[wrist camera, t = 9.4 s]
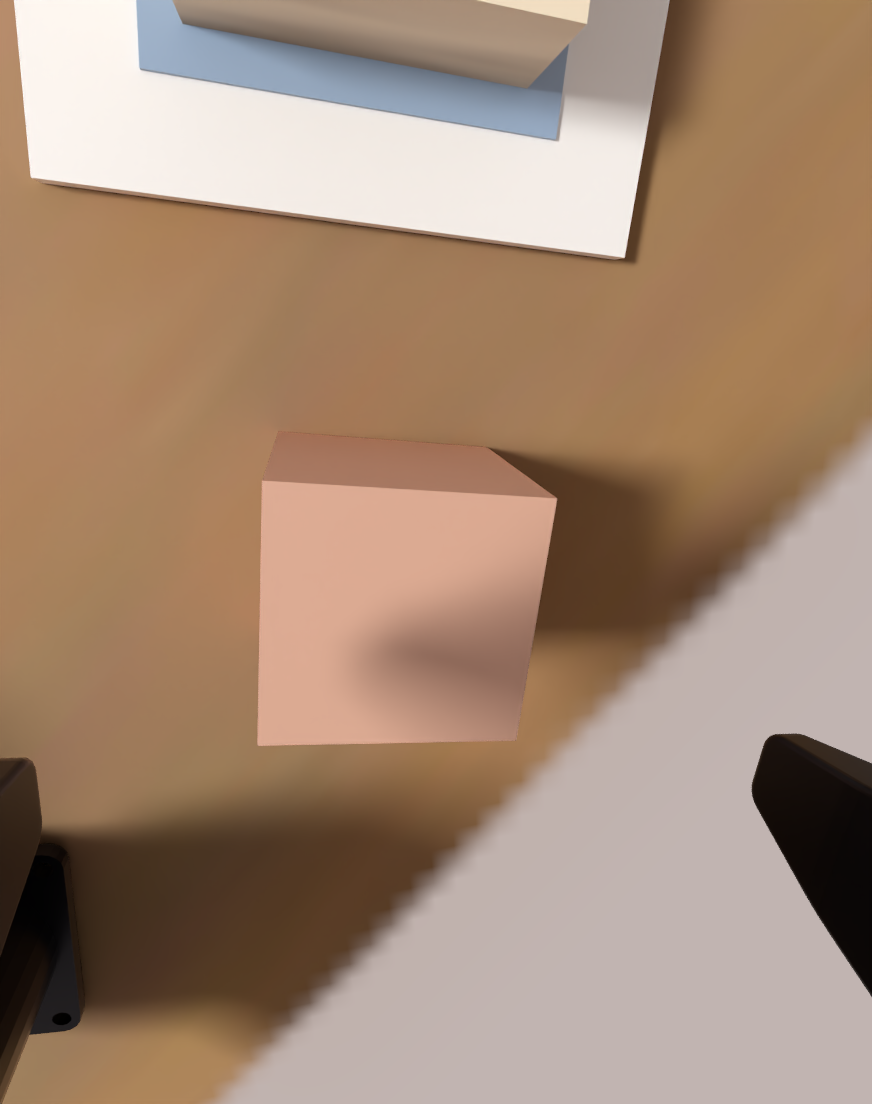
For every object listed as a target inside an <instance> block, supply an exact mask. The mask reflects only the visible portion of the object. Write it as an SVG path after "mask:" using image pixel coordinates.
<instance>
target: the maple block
mask: <svg viewBox="0 0 872 1104" xmlns="http://www.w3.org/2000/svg"><path fill="white" fill-rule="evenodd" d="M172 1H173V3H174V5H175V8H176V10H177V12H178V14H179V17H180V19H181V21H182V24H187V25H192V26H197V27H203V28H208V29H213V30H219V31H224V32H229V33H235V34H240V35H245V36H251V37H256V38H261V39H266V40H272V41H277V42H282V43H288V44H293V45H298V46H304V47H309V48H314V49H319V50H325V51H330V52H335V53H341V54H346V55H351V56H357V57H362V58H367V59H373V60H378V61H383V62H388V63H394V64H399V65H404V66H410V67H415V68H420V69H426V70H431V71H436V72H441V73H447V74H452V75H457V76H463V77H468V78H473V79H479V80H484V81H489V82H494V83H500V84H505V85H510V86H516V87H521V88H526V89H527V88H528V87H529V86H530V85H531V84H532V83H533V82H534V81H535V80H536V79H537V77H538V76H539V75H540V74H541V73H542V72H543V71H544V70H545V69H546V68H547V67H548V66H549V64H550V63H551V62H552V61H553V60H554V59H555V58H556V57H557V56H558V55H559V54H560V53H561V51H562V50H563V49H564V48H565V47H566V46H567V45H568V44H569V43H570V42H571V41H572V39H573V38H574V37H575V36H576V35H577V34H578V33H579V32H580V31H581V30H582V29H583V28H584V26H585V25H586V24H587V19H588V12H589V5H590V0H172Z"/></svg>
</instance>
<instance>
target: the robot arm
mask: <svg viewBox="0 0 872 1104" xmlns="http://www.w3.org/2000/svg"><path fill="white" fill-rule="evenodd" d="M752 796H753V800H754V803H755V805H756V806H757V809H758V810H759V812H760V814H761V816H762V818H763V819H764V821H765V823H766V825H767V826H768V828H769V830H770V832H771V834H772V835H773V837H774V839H775V841H776V843H777V844H778V846H779V848H780V850H781V852H782V853H783V855H784V857H785V859H786V860H787V862H788V864H789V866H790V868H791V870H792V871H793V873H794V875H795V877H796V879H797V880H798V882H799V884H800V886H801V887H802V889H803V891H804V893H805V895H806V896H807V898H808V900H809V901H810V903H811V905H812V907H813V908H814V910H815V911H816V913H817V915H818V916H819V918H820V920H821V921H822V923H823V924H824V926H825V927H826V929H827V931H828V932H829V934H830V935H831V937H832V938H833V939H834V941H835V943H836V944H837V946H838V947H839V949H840V950H841V952H842V953H843V954H844V956H845V957H846V959H847V961H848V962H849V964H850V965H851V967H852V968H853V969H854V971H855V972H856V974H857V975H858V977H859V978H860V980H861V981H862V983H863V984H864V986H865V987H866V989H867V990H868V992H869V993H870V995H871V996H872V763H869V762H867V761H864V760H862V759H860V758H857V757H855V756H852V755H850V754H848V753H845V752H843V751H840V750H838V749H836V748H833V747H831V746H828V745H826V744H824V743H821V742H819V741H817V740H814V739H812V738H810V737H807V736H805V735H801V734H775V735H772V736H770V737H769V738H768V739H767V740H766V741H765V743H764V746H763V749H762V752H761V756H760V759H759V762H758V765H757V769H756V772H755V775H754V779H753V782H752ZM41 830H42V816H41V807H40V799H39V791H38V783H37V775H36V769H35V766H34V764H33V762H32V761H31V760H29V759H28V758H0V1104H2V1102H3V1100H4V1097H5V1094H6V1092H7V1089H8V1087H9V1084H10V1082H11V1079H12V1077H13V1074H14V1072H15V1069H16V1067H17V1064H18V1062H19V1059H20V1057H21V1054H22V1052H23V1049H24V1047H25V1044H26V1042H27V1039H28V1037H29V1035H32V1034H41V1033H50V1032H60V1031H66V1030H70V1029H72V1028H74V1027H76V1026H77V1025H78V1023H79V1022H80V1020H81V1017H82V1014H83V1010H84V1007H85V998H84V989H83V980H82V971H81V962H80V953H79V944H78V934H77V925H76V916H75V907H74V898H73V889H72V880H71V871H70V862H69V856H68V854H67V851H65V850H64V849H63V848H62V847H60V846H58V845H55V844H39V841H40V836H41ZM41 863H48V864H49V865H51V866H45V865H43V864H41Z"/></svg>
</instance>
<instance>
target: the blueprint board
mask: <svg viewBox="0 0 872 1104" xmlns="http://www.w3.org/2000/svg"><path fill="white" fill-rule="evenodd" d="M669 1H670V0H590V5H589V12H588V19H587V24H586V25H585V26H584V28H583V29H582V30H581V31H580V32H579V33H578V34H577V35H576V36H575V37H574V38H573V39H572V41H571V42H570V43H569V44H568V45H567V46H566V47H565V48H564V49H563V50H562V51H561V53H560V54H559V55H558V56H557V57H556V58H555V59H554V60H553V61H552V62H551V63H550V64H549V66H548V67H547V68H546V69H545V70H544V71H543V72H542V73H541V74H540V75H539V76H538V77H537V79H536V80H535V81H534V82H533V83H532V84H531V85H530V86H529V87H528V88H527V89H526V88H521V87H516V86H510V85H505V84H500V83H494V82H489V81H484V80H479V79H473V78H468V77H463V76H457V75H452V74H447V73H441V72H436V71H431V70H426V69H420V68H415V67H410V66H404V65H399V64H394V63H388V62H383V61H378V60H373V59H367V58H362V57H357V56H351V55H346V54H341V53H335V52H330V51H325V50H319V49H314V48H309V47H304V46H298V45H293V44H288V43H282V42H277V41H272V40H266V39H261V38H256V37H251V36H245V35H240V34H235V33H229V32H224V31H219V30H213V29H208V28H203V27H197V26H192V25H187V24H182V21H181V19H180V17H179V14H178V12H177V10H176V8H175V5H174V3H173V1H172V0H14V4H15V14H16V25H17V35H18V46H19V57H20V67H21V78H22V88H23V99H24V110H25V120H26V131H27V141H28V152H29V163H30V173H31V178H33V179H35V180H37V181H39V182H41V183H46V184H53V185H61V186H68V187H76V188H83V189H91V190H98V191H106V192H113V193H120V194H128V195H135V196H143V197H150V198H158V199H165V200H173V201H180V202H188V203H195V204H203V205H210V206H218V207H225V208H232V209H240V210H247V211H255V212H262V213H270V214H277V215H285V216H292V217H300V218H307V219H315V220H322V221H330V222H337V223H345V224H352V225H359V226H367V227H374V228H382V229H389V230H397V231H404V232H412V233H419V234H427V235H434V236H442V237H449V238H457V239H464V240H471V241H479V242H486V243H494V244H501V245H509V246H516V247H524V248H531V249H539V250H546V251H554V252H561V253H569V254H576V255H583V256H591V257H598V258H606V259H613V260H616V259H621V258H625V252H626V247H627V241H628V235H629V230H630V224H631V218H632V213H633V207H634V201H635V195H636V190H637V184H638V178H639V173H640V167H641V161H642V155H643V150H644V144H645V138H646V133H647V127H648V121H649V116H650V110H651V104H652V98H653V93H654V87H655V81H656V76H657V70H658V64H659V58H660V53H661V47H662V41H663V36H664V30H665V24H666V18H667V13H668V7H669Z"/></svg>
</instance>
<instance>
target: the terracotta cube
mask: <svg viewBox="0 0 872 1104" xmlns="http://www.w3.org/2000/svg"><path fill="white" fill-rule="evenodd" d="M556 503H557V498H556V497H555V496H553V495H552V494H550V493H549V492H548V491H546V490H545V489H544V488H542V487H541V486H539V485H538V484H537V483H535V482H534V481H533V480H531V479H530V478H529V477H527V476H526V475H524V474H523V473H522V472H520V471H519V470H518V469H516V468H515V467H513V466H512V465H511V464H509V463H508V462H507V461H505V460H504V459H502V458H501V457H500V456H498V455H497V454H496V453H494V452H493V451H491V450H490V449H489V448H487V447H478V446H465V445H452V444H439V443H425V442H412V441H399V440H386V439H372V438H359V437H346V436H333V435H319V434H306V433H293V432H280V431H278V433H277V437H276V440H275V443H274V446H273V449H272V452H271V455H270V458H269V461H268V464H267V467H266V470H265V473H264V476H263V480H262V517H261V574H260V630H259V687H258V743H257V746H269V745H319V744H368V743H418V742H468V741H516V738H517V732H518V726H519V721H520V715H521V709H522V703H523V697H524V691H525V685H526V679H527V674H528V668H529V662H530V656H531V650H532V644H533V638H534V632H535V627H536V621H537V615H538V609H539V603H540V597H541V591H542V585H543V580H544V574H545V568H546V562H547V556H548V550H549V544H550V539H551V533H552V527H553V521H554V515H555V509H556Z"/></svg>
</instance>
